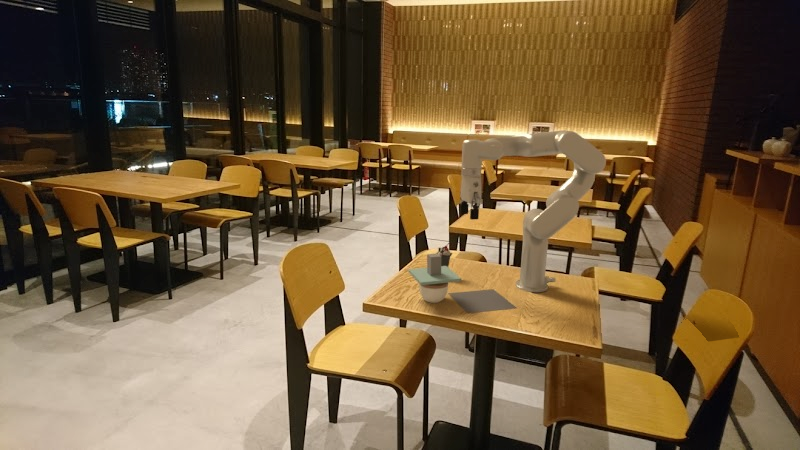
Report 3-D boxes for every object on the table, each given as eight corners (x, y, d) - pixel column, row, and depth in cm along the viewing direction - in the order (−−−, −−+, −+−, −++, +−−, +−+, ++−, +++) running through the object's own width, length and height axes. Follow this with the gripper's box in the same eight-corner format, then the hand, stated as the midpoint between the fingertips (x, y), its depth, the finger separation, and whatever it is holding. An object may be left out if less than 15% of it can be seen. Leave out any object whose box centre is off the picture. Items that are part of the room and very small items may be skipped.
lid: (446, 268, 182) (446, 248, 180) (461, 281, 168) (461, 259, 166) (408, 271, 178) (408, 251, 176) (420, 285, 164) (420, 263, 162)
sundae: (452, 279, 198) (453, 244, 194) (436, 278, 198) (437, 244, 194) (450, 274, 204) (452, 240, 200) (435, 273, 204) (436, 240, 201)
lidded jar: (446, 307, 169) (447, 282, 167) (416, 304, 171) (416, 280, 169) (449, 296, 179) (450, 272, 177) (421, 294, 181) (421, 270, 179)
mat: (493, 290, 186) (493, 289, 186) (517, 309, 168) (517, 308, 168) (447, 294, 181) (447, 293, 181) (467, 314, 163) (467, 313, 163)
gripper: (490, 175, 173) (487, 221, 177) (471, 169, 189) (469, 211, 193) (471, 175, 171) (468, 221, 175) (453, 170, 187) (451, 212, 191)
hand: (469, 216), depth 184 cm, fingers open, 9 cm apart
